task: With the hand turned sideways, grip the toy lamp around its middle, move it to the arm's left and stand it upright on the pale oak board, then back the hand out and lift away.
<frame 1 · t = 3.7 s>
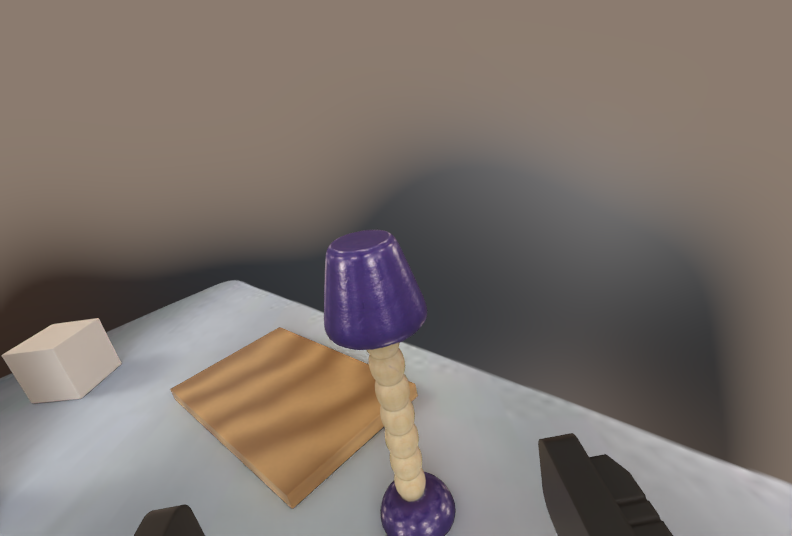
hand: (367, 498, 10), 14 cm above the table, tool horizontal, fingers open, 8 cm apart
oak board: (286, 397, 37), on the table
toy lamp: (422, 519, 24), on the table
plain ivory cube: (79, 384, 47), on the table
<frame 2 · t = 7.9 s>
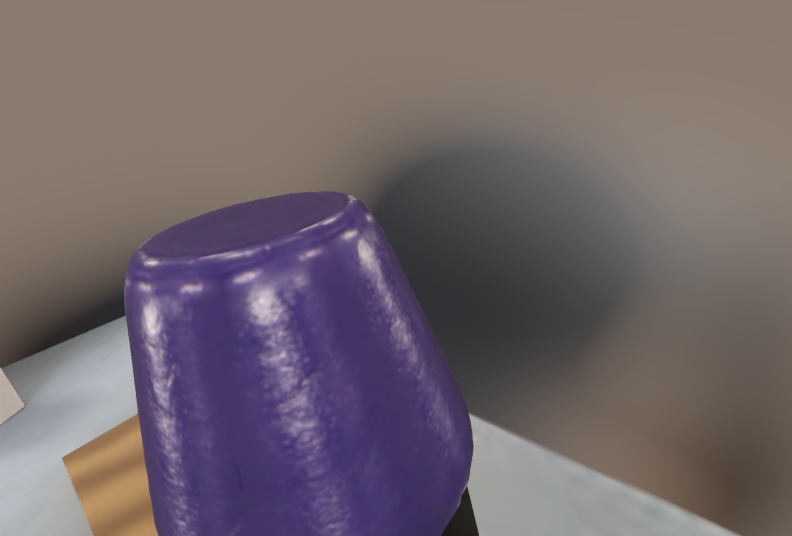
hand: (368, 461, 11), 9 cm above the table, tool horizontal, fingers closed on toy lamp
oak board: (226, 478, 24), on the table
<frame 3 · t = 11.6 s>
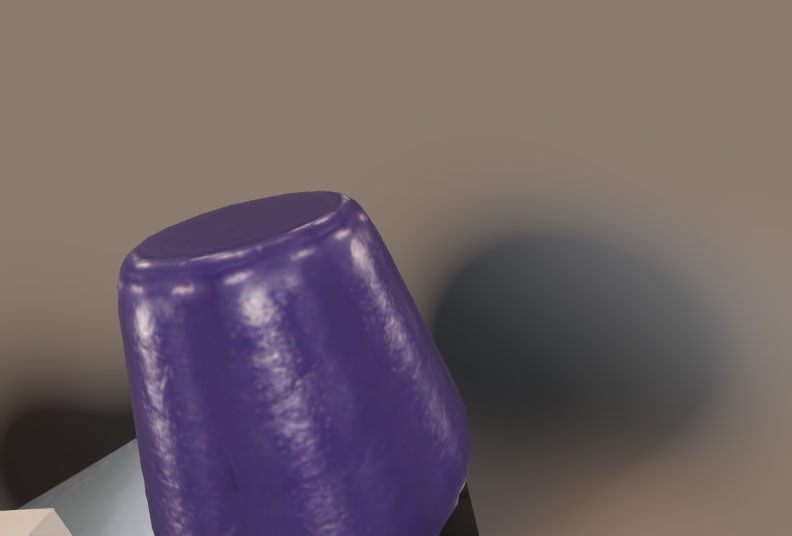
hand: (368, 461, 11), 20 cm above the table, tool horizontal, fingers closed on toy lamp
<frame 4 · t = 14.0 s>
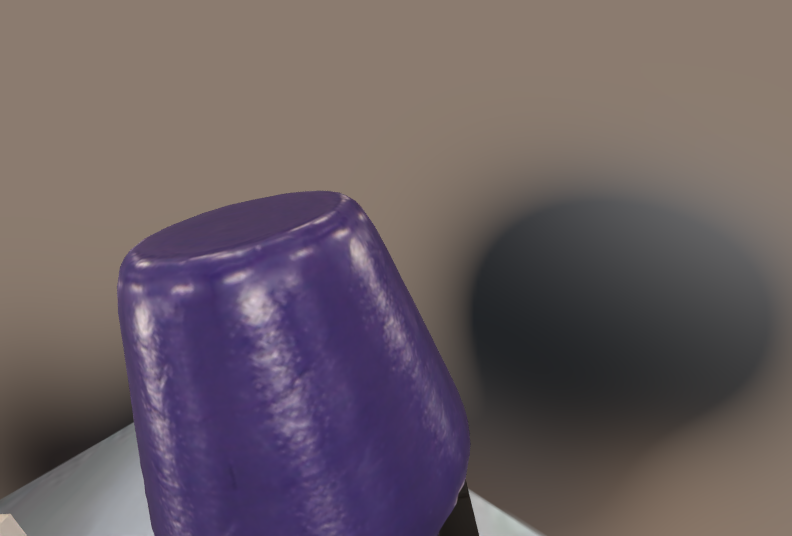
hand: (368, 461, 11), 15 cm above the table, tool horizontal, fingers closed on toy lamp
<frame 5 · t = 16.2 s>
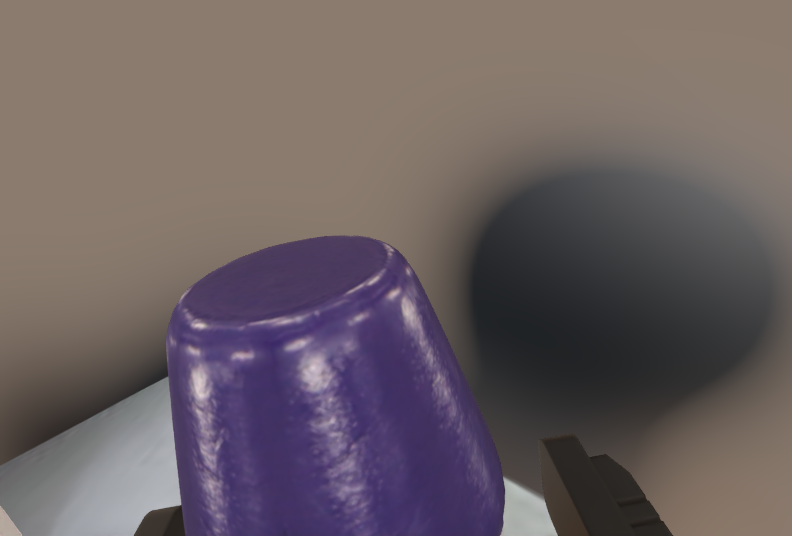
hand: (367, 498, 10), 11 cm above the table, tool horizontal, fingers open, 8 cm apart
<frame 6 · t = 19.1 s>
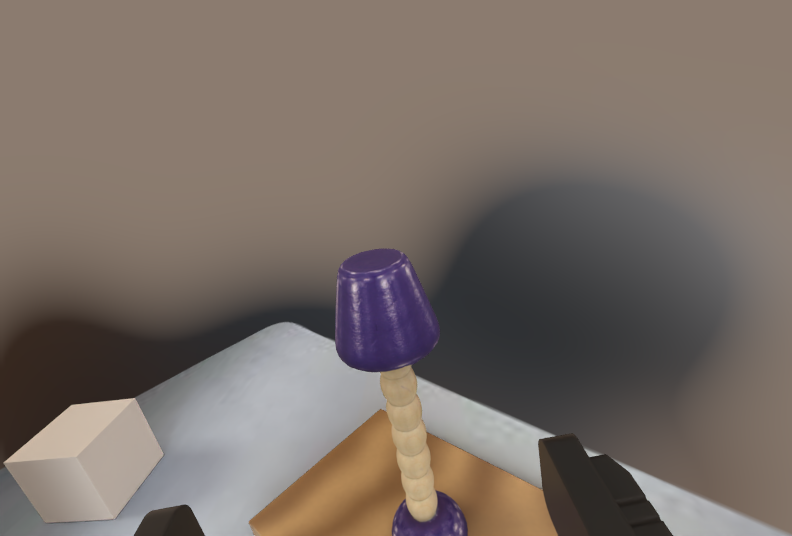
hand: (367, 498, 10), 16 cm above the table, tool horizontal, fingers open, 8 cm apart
plain ivory cube: (109, 488, 34), on the table
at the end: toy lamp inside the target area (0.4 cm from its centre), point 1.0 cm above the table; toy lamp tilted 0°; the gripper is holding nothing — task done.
